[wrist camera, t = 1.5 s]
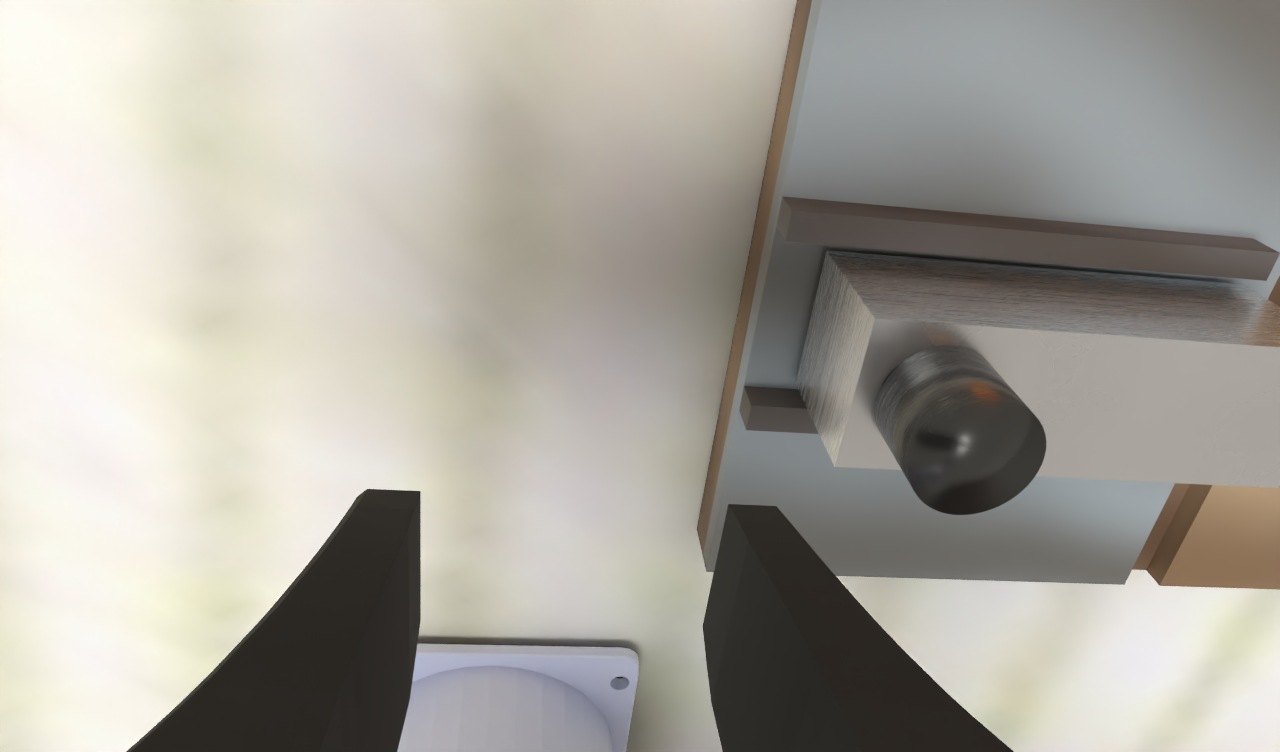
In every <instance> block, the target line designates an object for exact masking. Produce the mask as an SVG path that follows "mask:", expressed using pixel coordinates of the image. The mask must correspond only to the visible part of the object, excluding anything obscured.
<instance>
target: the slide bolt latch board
mask: <svg viewBox="0 0 1280 752" xmlns="http://www.w3.org/2000/svg"><path fill="white" fill-rule="evenodd" d="M826 251H839V252H851V253H863V254H876V255H888V256H900V257H913V258H925V259H937V260H949V261H962V262H974V263H986V264H999V265H1011V266H1023V267H1036V268H1048V269H1060V270H1073V271H1085V272H1097V273H1109V274H1122V275H1134V276H1146V277H1159V278H1171V279H1183V280H1196V281H1208V282H1220V283H1233V284H1244V285H1245V286H1247V287H1248V288H1250V289H1252V290H1253V291H1255V292H1257V293H1258V294H1260V295H1262V296H1263V297H1265V298H1266V299H1268V300H1270V301H1271V302H1273V303H1275V304H1276V305H1278V306H1280V0H797V4H796V10H795V15H794V20H793V25H792V31H791V36H790V41H789V46H788V52H787V57H786V62H785V68H784V73H783V78H782V83H781V89H780V94H779V99H778V104H777V110H776V115H775V120H774V126H773V131H772V136H771V141H770V147H769V152H768V157H767V162H766V168H765V173H764V178H763V184H762V189H761V194H760V199H759V205H758V210H757V215H756V221H755V226H754V231H753V236H752V242H751V247H750V252H749V257H748V263H747V268H746V273H745V279H744V284H743V289H742V294H741V300H740V305H739V310H738V315H737V321H736V326H735V331H734V337H733V342H732V347H731V352H730V358H729V363H728V368H727V373H726V379H725V384H724V389H723V395H722V400H721V405H720V410H719V416H718V421H717V426H716V431H715V437H714V442H713V447H712V453H711V458H710V463H709V468H708V474H707V479H706V484H705V490H704V495H703V500H702V505H701V511H700V516H699V521H698V526H697V531H698V536H699V540H700V545H701V549H702V554H703V558H704V563H705V567H706V572H714V570H715V565H716V560H717V556H718V551H719V546H720V541H721V536H722V531H723V527H724V522H725V517H726V512H727V507H728V504H741V505H765V506H777V507H778V509H779V510H780V511H781V512H782V513H783V514H784V516H785V517H786V518H787V519H788V520H789V521H790V523H791V524H792V525H793V526H794V527H795V529H796V530H797V531H798V532H799V533H800V535H801V536H802V537H803V538H804V539H805V540H806V542H807V543H808V544H809V545H810V546H811V548H812V549H813V550H814V551H815V552H816V554H817V555H818V556H819V557H820V558H821V560H822V561H823V562H824V563H825V564H826V565H827V567H828V568H829V569H830V570H831V571H832V572H833V574H834V575H835V576H864V577H897V578H930V579H962V580H995V581H1027V582H1060V583H1092V584H1125V582H1126V580H1127V578H1128V576H1129V574H1130V572H1131V570H1132V569H1138V570H1147V571H1148V572H1149V574H1150V575H1151V576H1152V577H1153V578H1154V579H1155V581H1156V582H1157V583H1158V584H1159V585H1160V586H1190V587H1223V588H1255V589H1280V485H1279V487H1278V488H1266V487H1245V486H1224V485H1203V484H1182V483H1161V482H1140V481H1119V480H1098V479H1077V478H1056V477H1034V479H1033V480H1032V481H1031V482H1030V484H1029V485H1028V486H1027V487H1026V488H1025V489H1024V490H1023V491H1022V492H1020V493H1019V494H1018V495H1017V496H1015V497H1014V498H1012V499H1011V500H1009V501H1008V502H1006V503H1004V504H1002V505H1001V506H998V507H996V508H994V509H991V510H988V511H985V512H981V513H977V514H970V515H952V514H946V513H942V512H939V511H936V510H934V509H932V508H930V507H928V506H927V505H926V504H924V503H923V502H922V501H921V500H920V499H919V498H918V496H917V495H916V493H915V492H914V490H913V489H912V487H911V485H910V483H909V482H908V480H907V478H906V476H905V475H904V473H903V471H902V470H888V469H867V468H846V467H834V465H833V463H832V460H831V458H830V456H829V454H828V452H827V450H826V448H825V446H824V443H823V441H822V439H821V437H820V435H819V433H818V431H817V429H816V426H815V424H814V422H813V420H812V418H811V416H810V414H809V412H808V409H807V407H806V405H805V403H804V401H803V399H802V397H801V395H800V393H799V390H798V388H797V386H796V384H795V383H796V379H797V375H798V370H799V366H800V362H801V358H802V353H803V349H804V345H805V341H806V336H807V332H808V328H809V323H810V319H811V315H812V311H813V306H814V302H815V298H816V294H817V289H818V285H819V281H820V276H821V272H822V268H823V264H824V259H825V255H826Z"/></svg>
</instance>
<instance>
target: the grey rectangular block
mask: <svg viewBox="0 0 1280 752" xmlns="http://www.w3.org/2000/svg"><path fill="white" fill-rule="evenodd" d="M795 384H796V386H797V388H798V390H799V393H800V395H801V397H802V399H803V401H804V403H805V405H806V407H807V409H808V412H809V414H810V416H811V418H812V420H813V422H814V424H815V426H816V429H817V431H818V433H819V435H820V437H821V439H822V441H823V443H824V446H825V448H826V450H827V452H828V454H829V456H830V458H831V460H832V463H833V465H834V467H846V468H867V469H888V470H902V471H903V473H904V475H905V476H906V478H907V480H908V482H909V483H910V485H911V487H912V489H913V490H914V492H915V493H916V495H917V496H918V498H919V499H920V500H921V501H922V502H923V503H924V504H926V505H927V506H928V507H930V508H932V509H934V510H936V511H939V512H942V513H946V514H952V515H970V514H977V513H981V512H985V511H988V510H991V509H994V508H996V507H998V506H1001V505H1002V504H1004V503H1006V502H1008V501H1009V500H1011V499H1012V498H1014V497H1015V496H1017V495H1018V494H1019V493H1020V492H1022V491H1023V490H1024V489H1025V488H1026V487H1027V486H1028V485H1029V484H1030V482H1031V481H1032V480H1033V479H1034V477H1056V478H1077V479H1098V480H1119V481H1140V482H1161V483H1182V484H1203V485H1224V486H1245V487H1266V488H1278V487H1279V485H1280V306H1278V305H1276V304H1275V303H1273V302H1271V301H1270V300H1268V299H1266V298H1265V297H1263V296H1262V295H1260V294H1258V293H1257V292H1255V291H1253V290H1252V289H1250V288H1248V287H1247V286H1245V285H1244V284H1233V283H1220V282H1208V281H1196V280H1183V279H1171V278H1159V277H1146V276H1134V275H1122V274H1109V273H1097V272H1085V271H1073V270H1060V269H1048V268H1036V267H1023V266H1011V265H999V264H986V263H974V262H962V261H949V260H937V259H925V258H913V257H900V256H888V255H876V254H863V253H851V252H839V251H826V255H825V259H824V264H823V268H822V272H821V276H820V281H819V285H818V289H817V294H816V298H815V302H814V306H813V311H812V315H811V319H810V323H809V328H808V332H807V336H806V341H805V345H804V349H803V353H802V358H801V362H800V366H799V370H798V375H797V379H796V383H795Z"/></svg>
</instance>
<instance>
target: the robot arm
mask: <svg viewBox="0 0 1280 752" xmlns="http://www.w3.org/2000/svg"><path fill="white" fill-rule="evenodd" d="M419 627H420V491H401V490H377V489H367V490H366V491H364V492H363V493H362V494H360V495H359V496H358V497H357V498H356V500H355V501H354V503H353V504H352V506H351V507H350V509H349V510H348V512H347V513H346V515H345V516H344V517H343V519H342V520H341V522H340V523H339V524H338V526H337V527H336V529H335V530H334V531H333V533H332V534H331V535H330V537H329V538H328V539H327V541H326V542H325V543H324V545H323V546H322V547H321V548H320V550H319V551H318V552H317V553H316V555H315V556H314V557H313V559H312V560H311V561H310V562H309V564H308V565H307V566H306V567H305V569H304V570H303V571H302V572H301V573H300V575H299V576H298V577H297V578H296V579H295V581H294V582H293V583H292V584H291V585H290V587H289V588H288V589H287V590H286V591H285V592H284V594H283V595H282V596H281V597H280V598H279V600H278V601H277V602H276V603H275V604H274V606H273V607H272V608H271V609H270V610H269V611H268V612H267V614H266V615H265V616H264V617H263V618H262V619H261V620H260V621H259V623H258V624H257V625H256V626H255V627H254V628H253V629H252V630H251V631H250V632H249V633H248V634H247V635H246V636H245V637H244V638H243V640H242V641H241V642H240V643H239V644H238V645H237V646H236V647H235V648H234V649H233V650H232V651H231V652H230V653H229V654H228V655H227V656H226V658H225V659H224V660H223V661H222V662H221V663H220V664H219V665H218V666H217V667H216V668H215V669H214V670H213V671H212V672H211V673H210V674H209V675H208V676H207V677H206V678H205V679H204V680H203V681H202V682H201V683H200V684H199V685H198V686H197V687H196V688H195V689H194V690H193V691H192V692H191V693H190V694H189V695H188V696H187V697H186V698H185V699H184V700H183V701H182V702H181V703H180V704H179V705H177V706H176V707H175V708H174V709H173V710H172V711H171V712H170V713H169V714H168V715H167V716H166V717H165V718H163V719H162V720H161V721H160V722H159V723H158V724H157V725H156V726H155V727H154V728H152V729H151V730H150V731H149V732H148V733H147V734H146V735H145V736H144V737H142V738H141V739H140V740H139V741H138V742H137V743H136V744H135V745H134V746H132V747H131V748H130V749H129V750H128V751H127V752H626V749H627V743H628V737H629V731H630V725H631V719H632V713H633V707H634V701H635V695H636V689H637V683H638V677H639V671H640V667H639V659H638V655H637V654H636V652H635V651H633V650H631V649H629V648H623V647H571V646H518V645H465V644H417V642H418V634H419ZM703 632H704V642H705V651H706V661H707V670H708V678H709V686H710V694H711V702H712V707H713V711H714V715H715V720H716V724H717V728H718V733H719V737H720V741H721V745H722V749H723V752H1013V751H1012V750H1011V749H1010V748H1009V747H1008V746H1006V745H1005V744H1004V743H1003V742H1002V741H1001V740H999V739H998V738H997V737H996V736H995V735H994V734H992V733H991V732H990V731H989V730H988V729H987V728H985V727H984V726H983V725H982V724H981V723H980V722H978V721H977V720H976V719H975V718H974V717H973V716H972V715H970V714H969V713H968V712H967V711H966V710H965V709H964V708H963V707H962V706H960V705H959V704H958V703H957V702H956V701H955V700H954V699H953V698H952V697H951V696H950V695H948V694H947V693H946V692H945V691H944V690H943V689H942V688H941V687H940V686H939V685H938V684H937V683H936V682H935V681H934V680H933V679H932V678H931V677H930V676H929V675H928V674H927V673H926V672H925V671H924V670H923V669H922V668H921V667H920V666H919V665H918V664H917V663H916V662H915V661H914V660H913V659H912V658H911V657H910V656H909V655H908V654H907V653H906V652H905V651H904V650H903V649H902V648H901V647H900V646H899V645H898V644H897V643H896V642H895V641H894V640H893V639H892V638H891V637H890V636H889V635H888V634H887V633H886V632H885V631H884V630H883V628H882V627H881V626H880V625H879V624H878V623H877V622H876V621H875V620H874V619H873V618H872V616H871V615H870V614H869V613H868V612H867V611H866V610H865V609H864V608H863V607H862V605H861V604H860V603H859V602H858V601H857V600H856V599H855V598H854V597H853V596H852V594H851V593H850V592H849V591H848V590H847V589H846V588H845V586H844V585H843V584H842V583H841V582H840V581H839V579H838V578H837V577H836V576H835V575H834V574H833V572H832V571H831V570H830V569H829V568H828V567H827V565H826V564H825V563H824V562H823V561H822V560H821V558H820V557H819V556H818V555H817V554H816V552H815V551H814V550H813V549H812V548H811V546H810V545H809V544H808V543H807V542H806V540H805V539H804V538H803V537H802V536H801V535H800V533H799V532H798V531H797V530H796V529H795V527H794V526H793V525H792V524H791V523H790V521H789V520H788V519H787V518H786V517H785V516H784V514H783V513H782V512H781V511H780V510H779V509H778V507H777V506H765V505H741V504H728V507H727V512H726V517H725V522H724V527H723V531H722V536H721V541H720V546H719V551H718V556H717V560H716V565H715V570H714V575H713V580H712V584H711V589H710V594H709V599H708V604H707V609H706V613H705V618H704V623H703ZM620 676H621V677H623V678H619V679H617V678H615V677H620Z"/></svg>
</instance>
